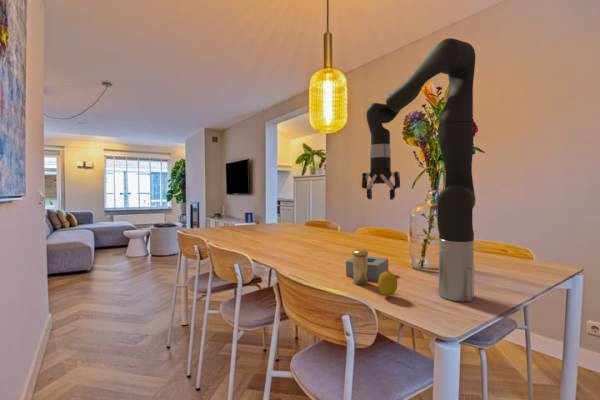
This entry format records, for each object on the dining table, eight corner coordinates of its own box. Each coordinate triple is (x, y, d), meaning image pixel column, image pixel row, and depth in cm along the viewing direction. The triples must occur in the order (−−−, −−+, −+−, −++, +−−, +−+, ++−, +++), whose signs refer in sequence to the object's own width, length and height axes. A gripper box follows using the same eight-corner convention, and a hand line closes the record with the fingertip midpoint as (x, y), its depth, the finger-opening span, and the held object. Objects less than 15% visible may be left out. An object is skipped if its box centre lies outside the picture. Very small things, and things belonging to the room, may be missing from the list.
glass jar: (370, 282, 108) (370, 250, 107) (364, 286, 103) (364, 253, 103) (356, 279, 111) (356, 249, 110) (349, 283, 106) (349, 252, 106)
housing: (388, 272, 119) (388, 258, 118) (377, 281, 109) (377, 265, 109) (359, 268, 125) (359, 255, 125) (346, 275, 116) (345, 261, 115)
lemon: (374, 295, 95) (374, 269, 95) (389, 292, 97) (388, 267, 97) (386, 301, 90) (386, 274, 90) (401, 298, 92) (401, 271, 92)
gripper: (402, 156, 117) (402, 199, 118) (366, 158, 125) (366, 198, 126) (396, 155, 111) (396, 200, 112) (359, 157, 119) (359, 199, 120)
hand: (380, 199), depth 119 cm, fingers open, 8 cm apart
